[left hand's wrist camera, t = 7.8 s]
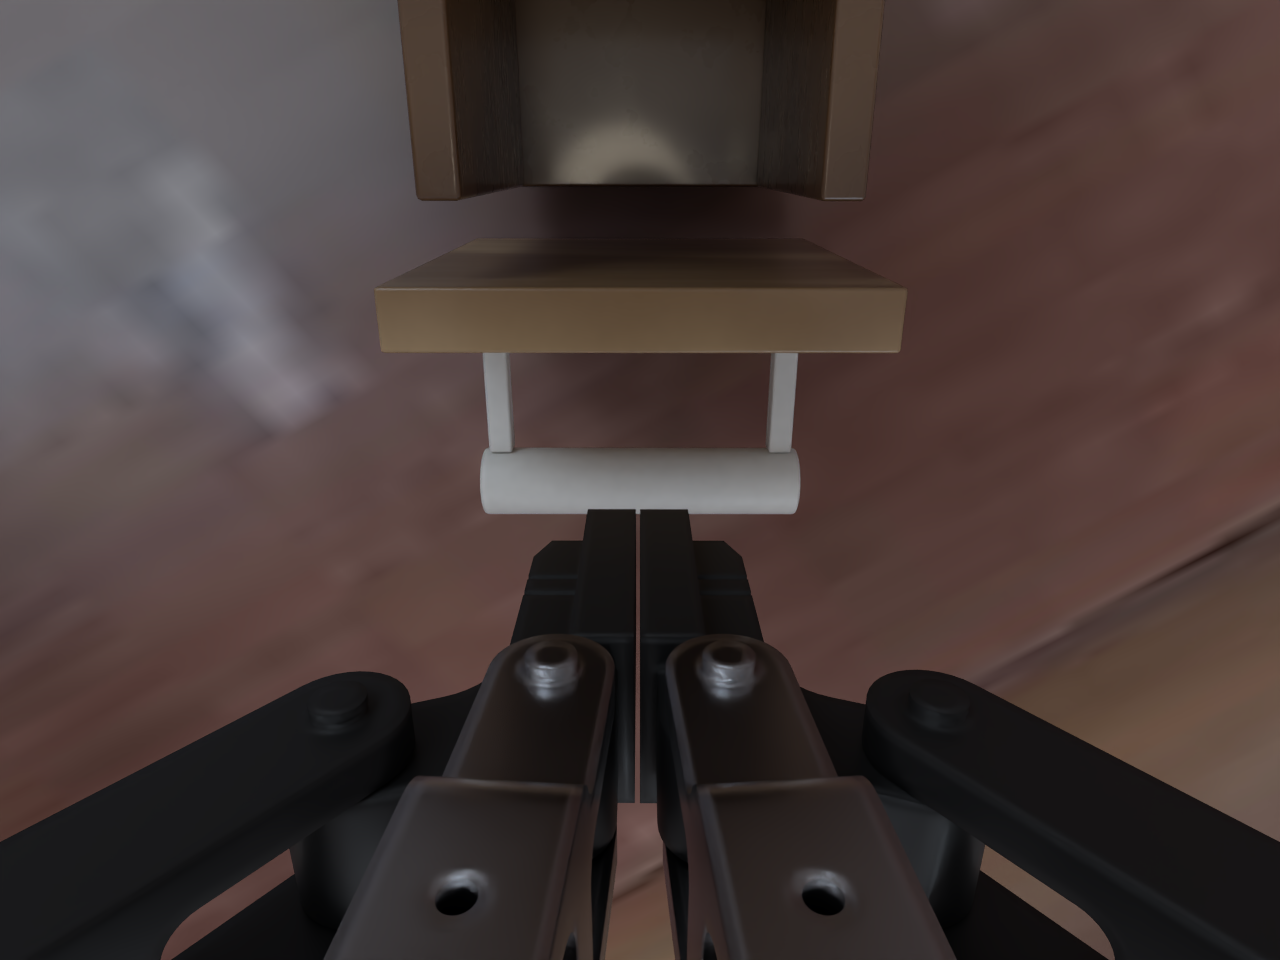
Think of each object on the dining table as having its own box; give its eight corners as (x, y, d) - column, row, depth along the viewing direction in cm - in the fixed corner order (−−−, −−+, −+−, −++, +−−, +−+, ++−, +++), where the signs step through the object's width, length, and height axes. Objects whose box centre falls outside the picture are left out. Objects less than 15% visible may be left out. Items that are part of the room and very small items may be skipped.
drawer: (788, 457, 26) (868, 616, 17) (491, 456, 26) (411, 616, 17) (854, -430, 18) (1070, -1025, 9) (427, -431, 18) (213, -1026, 9)
